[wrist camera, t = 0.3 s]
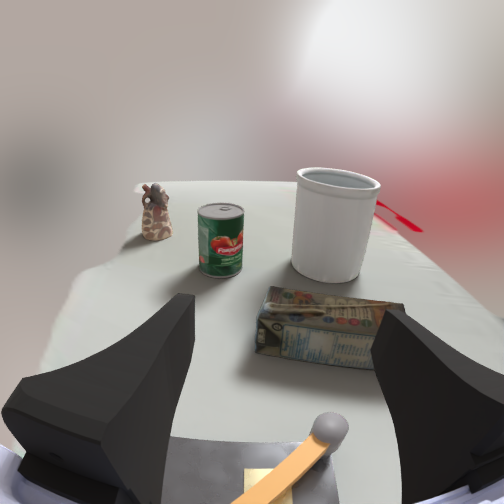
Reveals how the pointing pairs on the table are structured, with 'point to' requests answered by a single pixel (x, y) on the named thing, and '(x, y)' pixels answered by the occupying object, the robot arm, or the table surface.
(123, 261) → the table surface
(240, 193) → the table surface
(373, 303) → the beverage carton
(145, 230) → the figurine
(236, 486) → the panel
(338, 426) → the swing arm
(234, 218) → the canned tomato
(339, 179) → the utensil holder
